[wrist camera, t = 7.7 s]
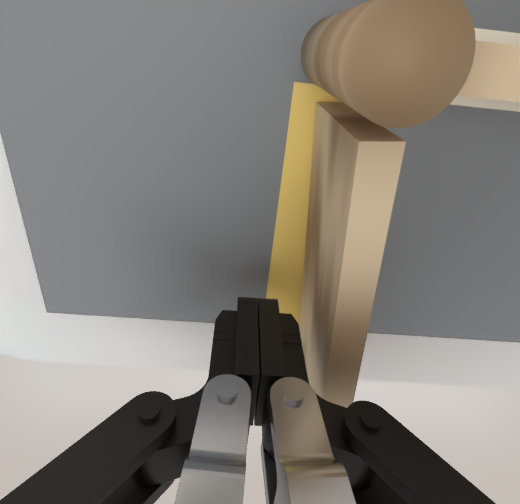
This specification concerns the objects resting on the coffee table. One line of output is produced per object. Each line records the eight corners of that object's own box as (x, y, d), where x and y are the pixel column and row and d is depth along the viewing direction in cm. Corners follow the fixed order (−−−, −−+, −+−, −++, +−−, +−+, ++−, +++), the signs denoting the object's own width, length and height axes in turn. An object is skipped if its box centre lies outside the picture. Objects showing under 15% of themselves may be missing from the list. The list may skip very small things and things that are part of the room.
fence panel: (313, 101, 13) (354, 141, 8) (347, 101, 13) (410, 141, 8) (295, 350, 19) (311, 466, 14) (318, 350, 19) (342, 466, 14)
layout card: (896, -117, 11) (921, -123, 10) (569, 340, 20) (576, 346, 20) (-94, -271, 9) (-109, -285, 9) (50, 307, 18) (46, 313, 18)
